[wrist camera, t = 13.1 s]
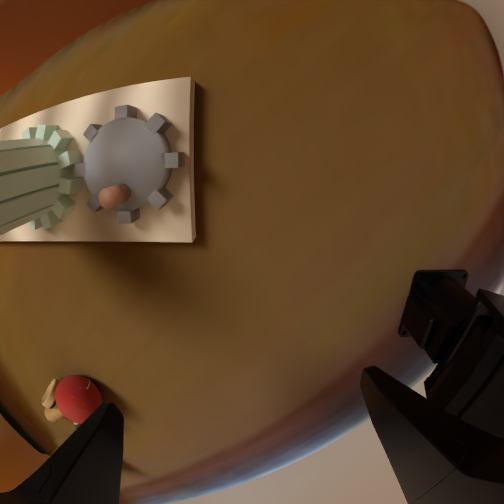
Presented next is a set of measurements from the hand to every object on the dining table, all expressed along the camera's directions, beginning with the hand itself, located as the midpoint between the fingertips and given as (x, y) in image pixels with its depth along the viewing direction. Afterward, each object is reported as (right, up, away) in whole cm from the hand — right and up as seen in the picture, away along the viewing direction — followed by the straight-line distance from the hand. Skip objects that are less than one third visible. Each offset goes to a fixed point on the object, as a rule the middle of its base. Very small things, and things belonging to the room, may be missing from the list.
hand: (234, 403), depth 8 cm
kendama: (-24, -15, +20) cm, 34 cm away
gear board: (-16, +11, +10) cm, 22 cm away
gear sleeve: (-16, +11, +8) cm, 21 cm away
